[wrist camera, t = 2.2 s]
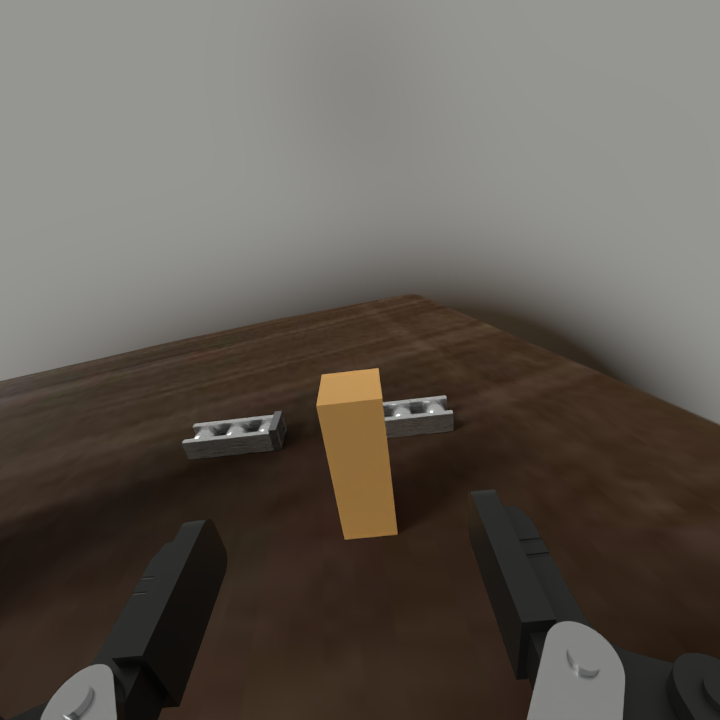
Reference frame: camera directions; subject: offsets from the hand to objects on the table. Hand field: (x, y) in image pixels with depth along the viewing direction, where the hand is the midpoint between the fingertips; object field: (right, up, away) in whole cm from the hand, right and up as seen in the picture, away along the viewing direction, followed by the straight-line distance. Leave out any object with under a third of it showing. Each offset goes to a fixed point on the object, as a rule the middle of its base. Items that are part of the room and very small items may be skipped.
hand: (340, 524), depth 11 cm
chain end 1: (-13, -4, +28) cm, 31 cm away
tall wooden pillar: (+1, -7, +17) cm, 19 cm away
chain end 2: (+5, -2, +27) cm, 27 cm away
